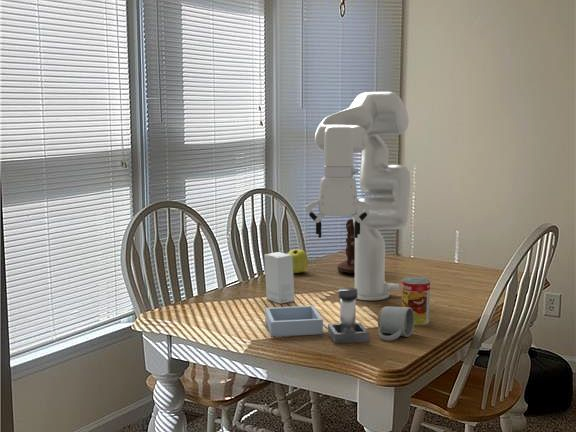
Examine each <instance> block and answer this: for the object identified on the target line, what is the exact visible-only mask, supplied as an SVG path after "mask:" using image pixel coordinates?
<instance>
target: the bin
mask: <svg viewBox="0 0 576 432" xmlns="http://www.w3.org/2000/svg"><path fill="white" fill-rule="evenodd" d="M264 310H265V313H264V315H265V316H264V319H265V324H266V328H267V329H268V332H269V334H270V337H289V336H290V337H291V336H292V337H293V336H307V335H324V326H323V325H324V321H323V317H322V316H321V315H320V313H319V312H318V311H319V310H317V308H316V307H315V305H299V306H298V305H296V306H280V307H279V306H278V307H277V306H276V307H274V306H273V307H265V308H264Z"/></svg>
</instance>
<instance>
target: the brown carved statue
mask: <svg viewBox="0 0 576 432" xmlns="http://www.w3.org/2000/svg"><path fill="white" fill-rule="evenodd" d="M345 228H346V232H347V233H346V239H345V243H346V247H345V255H346V258H347V259H346V260H344V261H341V262H340V263H338V264H337V272H338V273H341V272H343V273H351V274H355V237H354V223H353V218H350V219H348V220H347V222H346V224H345Z"/></svg>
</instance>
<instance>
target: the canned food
mask: <svg viewBox="0 0 576 432" xmlns="http://www.w3.org/2000/svg"><path fill="white" fill-rule="evenodd" d="M430 306H431V280H430V279H429V278H426V277H421V276H407V277H403V278H402V279H401V307H410V308H411V309H412V310H413V313H414V326H424V325H428V324H429V323H430V310H431V309H430Z"/></svg>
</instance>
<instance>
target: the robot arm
mask: <svg viewBox="0 0 576 432" xmlns="http://www.w3.org/2000/svg"><path fill="white" fill-rule="evenodd" d="M409 122H410V121H409V115H408V112H407V109H406V107H405V104H404V102H403V100H402V98H401V97H400V96H399V94H397V93H395V92H394V91H393V92H392V91H371V92H370V91H368V92H367V91H365V92H362V93H360V94H358V95H357V96H356V97H355V98H354V100H353V101H352V102H351V104H350V105H349V107H348V108H346V109H343V110H340V111H338V112H335V113H332V114H330V115H328V116H326V117H325V118H323V120H322V121H321V122H320V123H319V125H318V127H317V128H316V131H315V135H314V143H315V147H316V148H317V150H318V151H320V152H322V153H323V157H324V158H323V159H324V160H323V161H324V162H323V167H324V168H323V175H324V176H323V177H321V178H320V183H319V195H318V199H316V200H314V201H312V202H310V203H309V204H306V205H305V209H306V211H307V213H308V215H309V217H310V218H311V220H313V221H314V222H315V235H318V239H320V238H322V221H321V220H322V219H323V218H324V217H352V219H353V223H354V237H355V273H354V288H356V289H357V290H358V297H357V298H356V300H360V301H381V300H385V299H388V298H389V297H390V291H391V290H393V291H398V290H399V291H400V284H399V283H394V282H387V281H385V280H386V279H385V276H386V275H385V274H386V272H385V270H386V269H385V266H386V259H385V258H386V242H385V239H384V236H383V235H382V233H381V232H380V231H379V229H382V230H383V229H384V230H402V229H404V228H405V227H406V226H407V224H408V221H409V209H410V195H411V173H410V171H409V169H408V167H407V166H405V165H402V164H389V148H388V146H387V145H386V143H385V142H384V140H383V139H382V138H381V137H380V135H383V136H384V135H387V136H388V135H392V136H393V135H397V136H398V135H403V134H404V133H405V132H406V131H407V130H408V127H409ZM360 152H361V161H360V170H359V169H358V168H356V167H354V163H353V161H354V158H353V157H354V154H356V153H360ZM357 174H359V188H360V190H361V191H362V192H363V193H365V194H367V195H368V194H369V195H380V196H381V195H382V196H383V195H385V196H386V195H387V196H393V197H394V198H389V197H388V198H387V197H385V198H383V197H362V198H359V199H358V189H357V182H356V178H355V177H354V175H357ZM317 206H318V211H319V213H318V214H315V212H313V208H315V207H317Z"/></svg>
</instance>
